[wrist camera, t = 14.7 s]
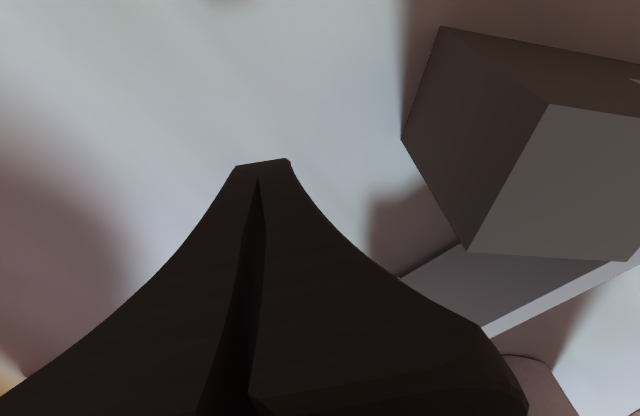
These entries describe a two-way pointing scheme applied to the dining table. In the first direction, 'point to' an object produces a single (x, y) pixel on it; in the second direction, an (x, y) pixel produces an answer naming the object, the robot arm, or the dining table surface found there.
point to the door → (507, 284)
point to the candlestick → (636, 413)
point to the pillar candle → (540, 388)
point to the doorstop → (530, 147)
